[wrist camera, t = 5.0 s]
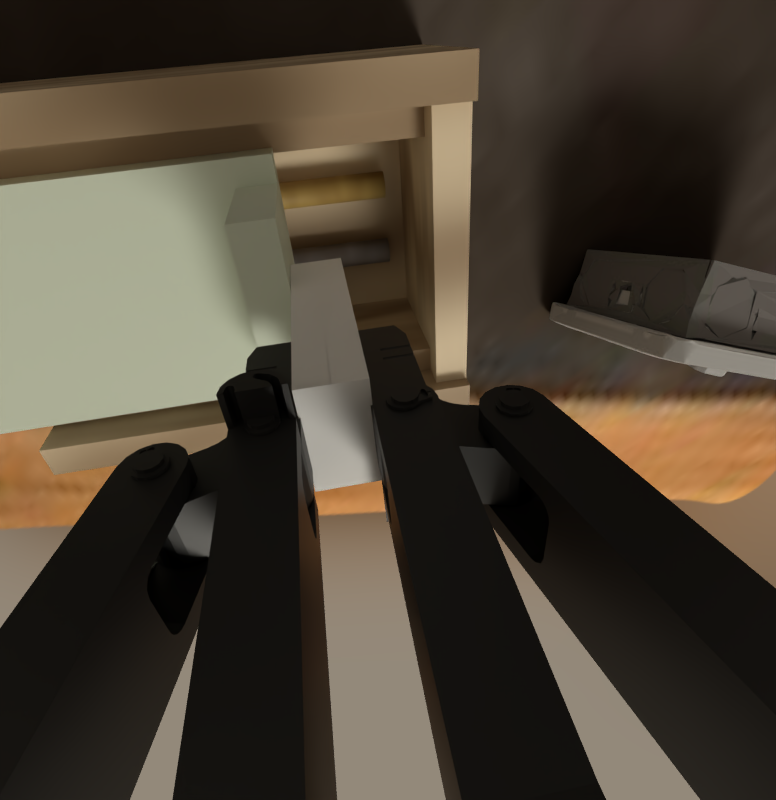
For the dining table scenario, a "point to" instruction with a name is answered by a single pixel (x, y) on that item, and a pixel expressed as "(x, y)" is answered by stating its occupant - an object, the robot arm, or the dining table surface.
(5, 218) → the lid
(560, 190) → the dining table surface
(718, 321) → the electrical switch
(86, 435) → the pencil box
